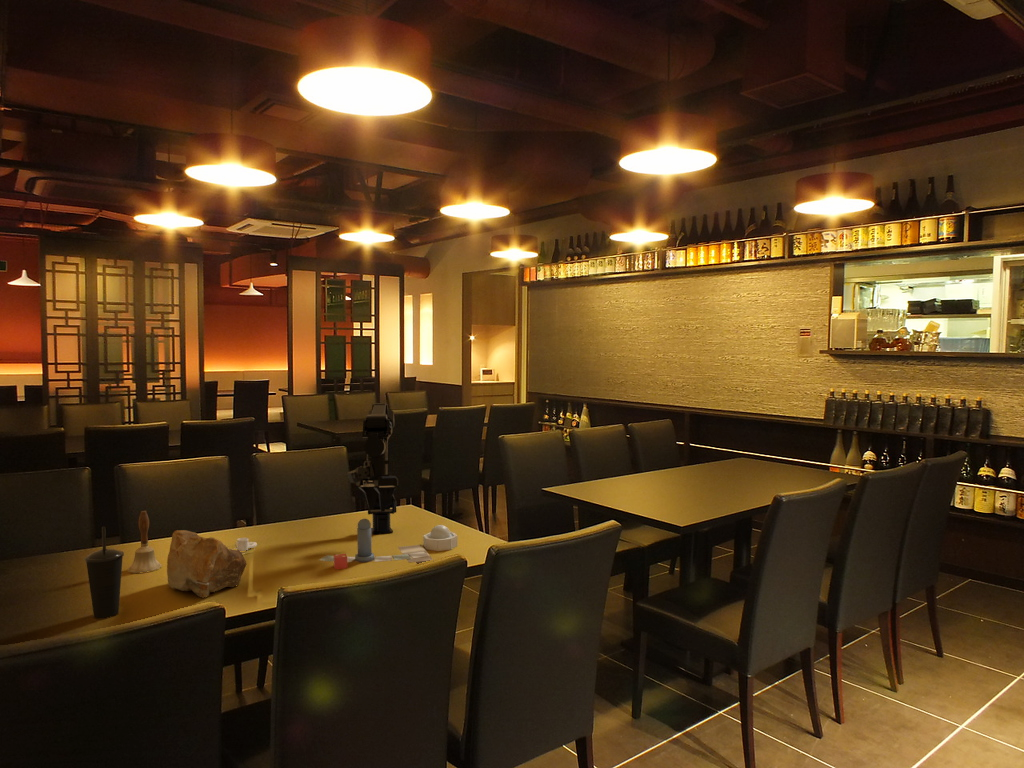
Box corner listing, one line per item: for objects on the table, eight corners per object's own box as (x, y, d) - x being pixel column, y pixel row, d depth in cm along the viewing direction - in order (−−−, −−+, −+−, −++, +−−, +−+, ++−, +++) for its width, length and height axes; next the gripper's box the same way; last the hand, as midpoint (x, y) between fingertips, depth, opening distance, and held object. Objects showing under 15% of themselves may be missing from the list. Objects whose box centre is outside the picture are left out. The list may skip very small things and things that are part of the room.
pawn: (352, 558, 194) (351, 518, 194) (369, 555, 198) (368, 515, 197) (360, 563, 190) (359, 522, 190) (377, 559, 193) (376, 519, 193)
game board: (316, 558, 199) (316, 554, 199) (420, 547, 209) (420, 543, 209) (321, 575, 184) (321, 571, 184) (433, 563, 194) (433, 559, 194)
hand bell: (168, 565, 193) (167, 508, 192) (144, 575, 185) (142, 515, 184) (145, 562, 195) (143, 506, 195) (120, 571, 188) (118, 513, 187)
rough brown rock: (261, 595, 171) (264, 535, 172) (190, 606, 160) (194, 542, 161) (225, 576, 188) (228, 521, 189) (160, 585, 177) (163, 526, 178)
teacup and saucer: (253, 546, 212) (252, 533, 212) (264, 552, 207) (264, 538, 207) (224, 552, 206) (223, 538, 206) (234, 558, 201) (234, 544, 200)
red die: (333, 566, 188) (333, 554, 188) (345, 565, 189) (345, 553, 189) (335, 569, 185) (334, 557, 185) (347, 568, 186) (347, 556, 186)
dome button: (426, 542, 213) (425, 523, 213) (448, 540, 216) (448, 521, 215) (431, 549, 206) (431, 529, 206) (455, 546, 209) (454, 527, 209)
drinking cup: (113, 621, 153) (110, 531, 152) (78, 621, 153) (75, 531, 152) (132, 608, 161) (130, 522, 160) (100, 608, 161) (97, 522, 160)
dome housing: (421, 543, 214) (421, 533, 214) (451, 540, 217) (451, 530, 217) (428, 551, 205) (428, 541, 205) (459, 548, 208) (459, 538, 208)
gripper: (339, 458, 211) (339, 510, 209) (362, 457, 195) (361, 513, 194) (374, 458, 217) (374, 508, 215) (398, 456, 201) (399, 511, 200)
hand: (376, 510), depth 206 cm, fingers open, 9 cm apart
